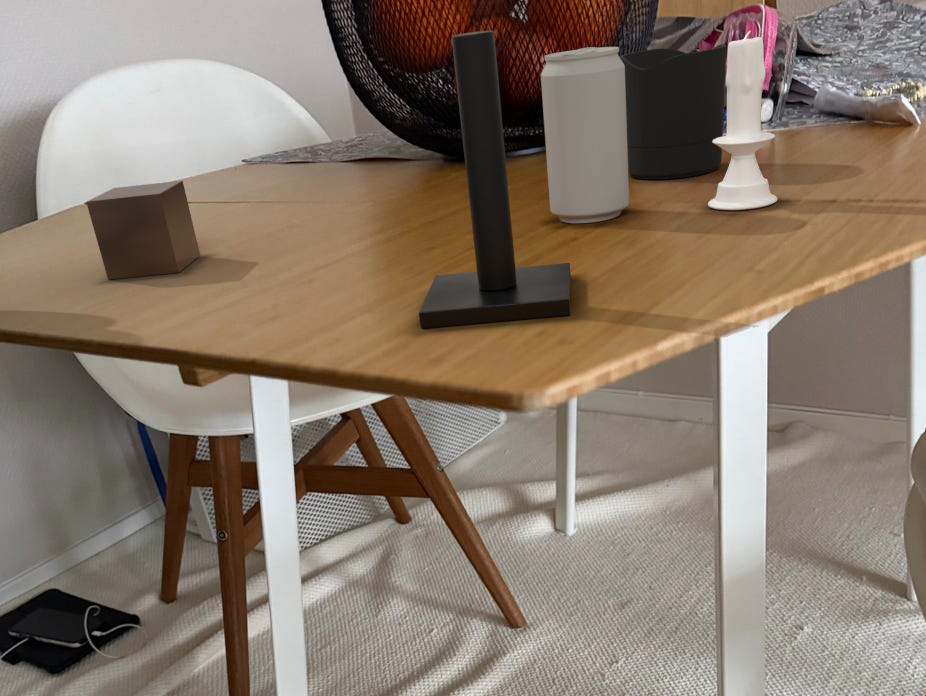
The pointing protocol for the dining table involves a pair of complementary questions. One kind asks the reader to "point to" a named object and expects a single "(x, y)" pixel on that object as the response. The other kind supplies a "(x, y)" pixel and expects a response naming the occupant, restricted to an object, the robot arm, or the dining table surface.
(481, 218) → the post stand
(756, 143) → the candle
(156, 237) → the brown matte cube
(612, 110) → the beverage can
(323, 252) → the dining table surface
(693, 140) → the pen holder
